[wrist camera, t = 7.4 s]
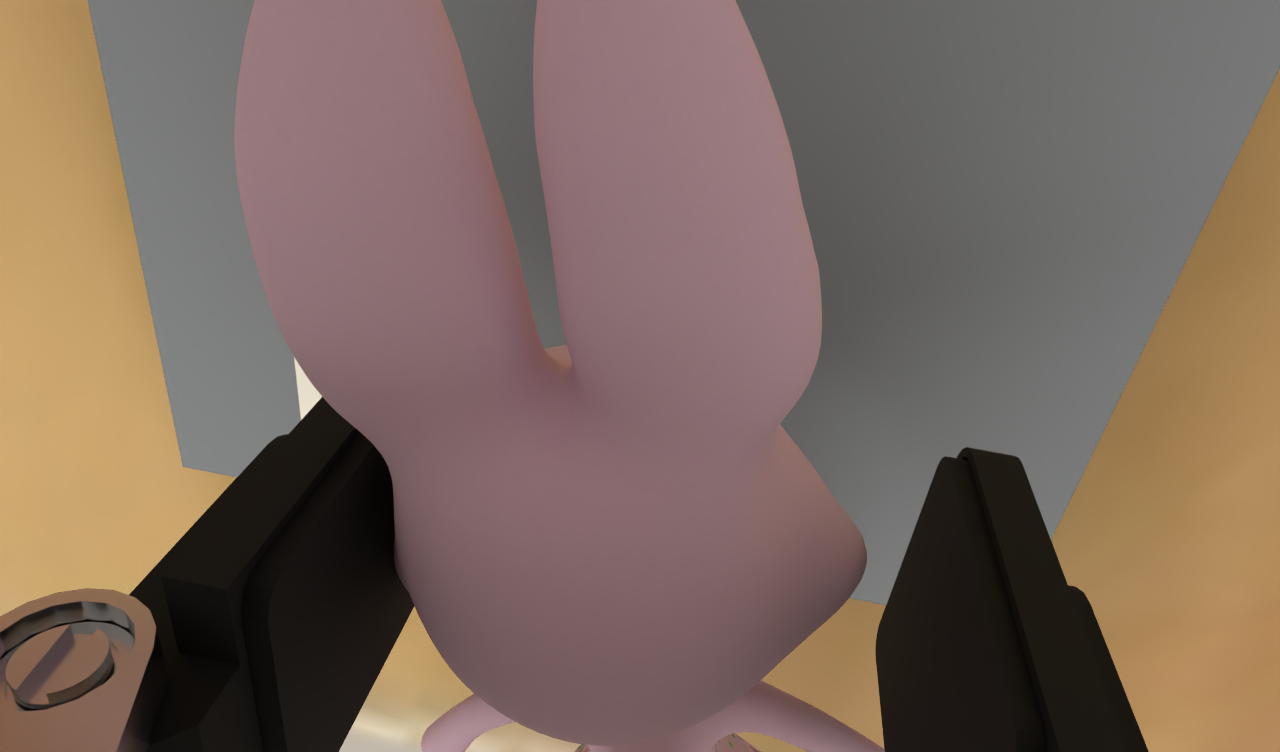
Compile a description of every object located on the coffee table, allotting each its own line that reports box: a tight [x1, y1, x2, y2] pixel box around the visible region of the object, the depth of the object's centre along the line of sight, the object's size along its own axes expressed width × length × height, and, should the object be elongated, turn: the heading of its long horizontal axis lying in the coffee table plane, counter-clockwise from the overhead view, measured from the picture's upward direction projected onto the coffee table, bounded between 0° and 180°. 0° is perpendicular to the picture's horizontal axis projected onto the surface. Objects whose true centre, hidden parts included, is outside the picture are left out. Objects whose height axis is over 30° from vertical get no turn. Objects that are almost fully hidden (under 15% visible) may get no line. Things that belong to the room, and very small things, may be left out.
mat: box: [88, 0, 1280, 605], centre depth 17 cm, size 16×20×1 cm
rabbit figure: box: [234, 0, 885, 752], centre depth 9 cm, size 6×6×15 cm
